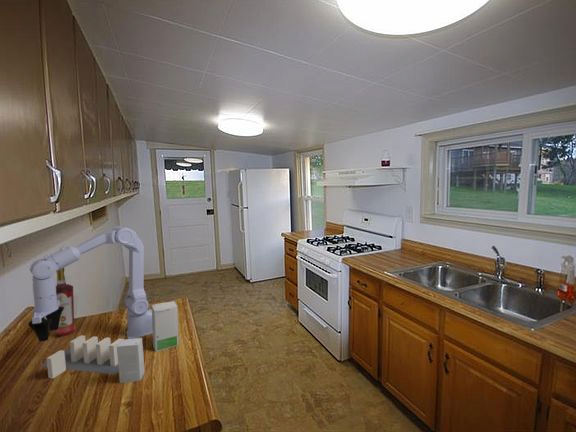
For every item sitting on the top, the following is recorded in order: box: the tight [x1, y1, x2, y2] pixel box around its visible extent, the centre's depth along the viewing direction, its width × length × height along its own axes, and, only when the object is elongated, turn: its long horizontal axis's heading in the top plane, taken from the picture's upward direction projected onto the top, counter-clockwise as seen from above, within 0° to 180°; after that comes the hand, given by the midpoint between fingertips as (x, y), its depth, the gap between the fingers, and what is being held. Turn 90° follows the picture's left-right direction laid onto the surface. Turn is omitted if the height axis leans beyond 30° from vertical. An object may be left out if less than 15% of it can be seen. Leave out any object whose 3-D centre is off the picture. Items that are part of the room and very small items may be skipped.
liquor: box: [54, 267, 77, 337], centre depth 117 cm, size 7×7×28 cm
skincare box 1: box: [117, 337, 146, 384], centre depth 89 cm, size 6×4×12 cm
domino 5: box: [109, 338, 124, 366], centre depth 97 cm, size 2×4×7 cm, turn 170°
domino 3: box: [83, 336, 99, 363], centre depth 99 cm, size 2×4×7 cm, turn 170°
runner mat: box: [40, 347, 119, 375], centre depth 99 cm, size 28×12×1 cm, turn 80°
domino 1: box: [46, 349, 67, 379], centre depth 92 cm, size 2×4×7 cm, turn 170°
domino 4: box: [96, 337, 112, 365], centre depth 98 cm, size 2×4×7 cm, turn 170°
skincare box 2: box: [151, 301, 180, 352], centre depth 108 cm, size 8×7×16 cm
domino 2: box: [69, 334, 86, 362], centre depth 100 cm, size 2×4×7 cm, turn 170°
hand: (49, 334), depth 97 cm, fingers open, 7 cm apart
